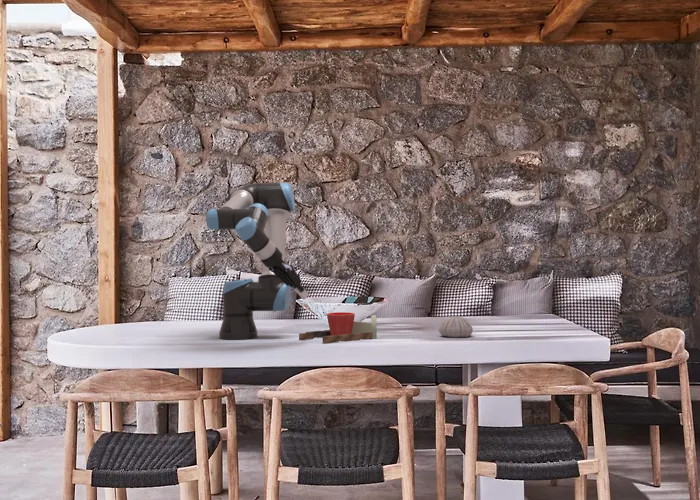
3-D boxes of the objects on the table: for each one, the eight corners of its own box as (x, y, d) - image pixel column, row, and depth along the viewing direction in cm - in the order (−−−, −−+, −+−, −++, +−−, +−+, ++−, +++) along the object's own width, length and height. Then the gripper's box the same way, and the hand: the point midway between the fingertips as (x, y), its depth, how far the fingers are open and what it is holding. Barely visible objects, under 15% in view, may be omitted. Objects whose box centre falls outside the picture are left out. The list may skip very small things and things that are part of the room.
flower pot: (354, 339, 305) (354, 314, 305) (326, 339, 306) (326, 314, 306) (355, 336, 316) (355, 312, 316) (328, 336, 316) (327, 312, 316)
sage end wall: (373, 338, 306) (373, 315, 306) (344, 335, 321) (344, 313, 321) (377, 338, 307) (377, 315, 307) (348, 334, 322) (347, 312, 322)
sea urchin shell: (463, 334, 321) (463, 314, 321) (478, 337, 308) (478, 317, 308) (433, 335, 317) (433, 315, 317) (447, 339, 304) (447, 318, 304)
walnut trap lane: (324, 343, 292) (324, 336, 293) (294, 339, 308) (294, 332, 308) (375, 338, 308) (375, 331, 308) (344, 334, 323) (344, 328, 323)
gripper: (252, 260, 290) (290, 303, 301) (272, 261, 280) (310, 305, 291) (264, 245, 293) (301, 288, 304) (284, 245, 283) (321, 290, 294)
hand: (305, 296), depth 297 cm, fingers closed
